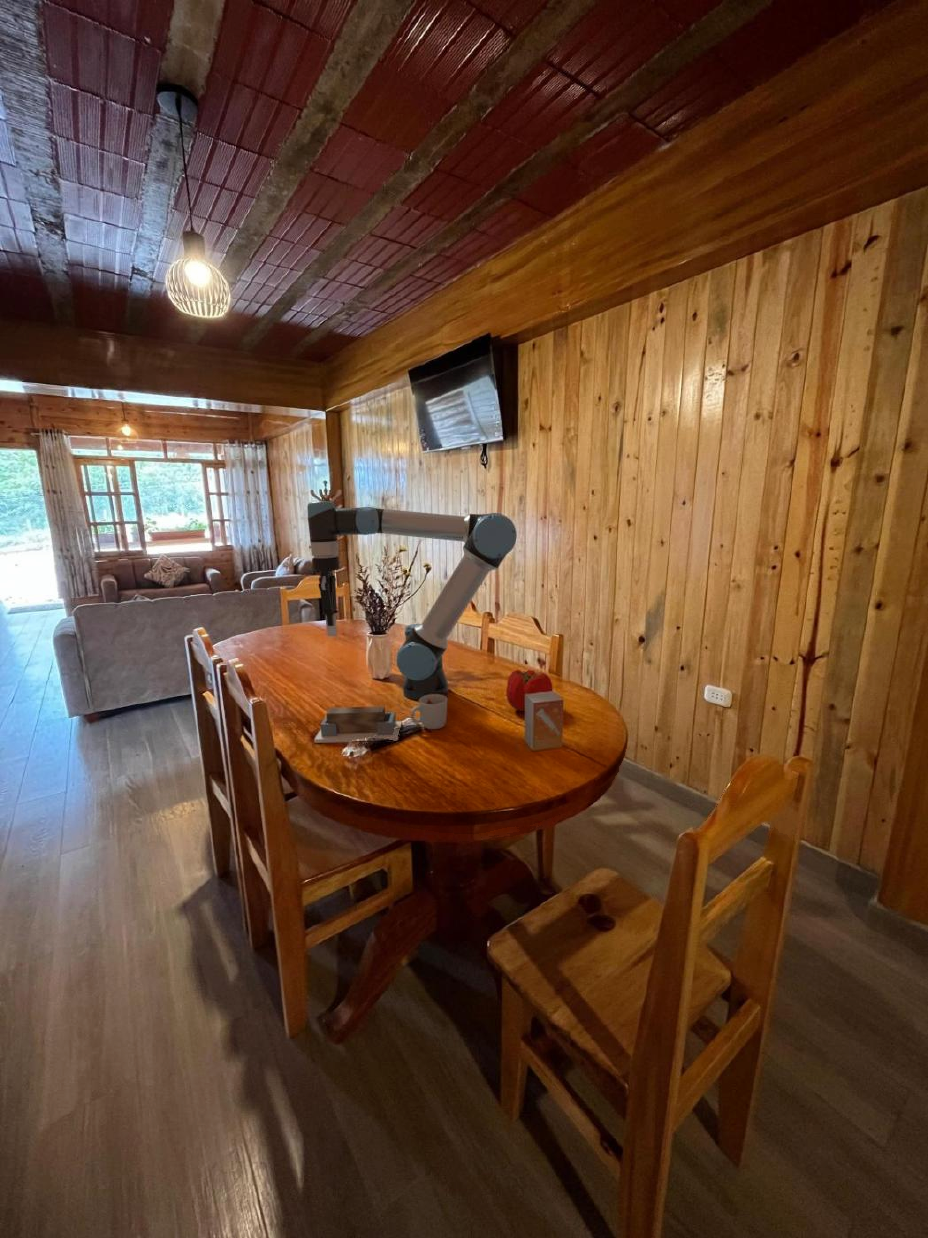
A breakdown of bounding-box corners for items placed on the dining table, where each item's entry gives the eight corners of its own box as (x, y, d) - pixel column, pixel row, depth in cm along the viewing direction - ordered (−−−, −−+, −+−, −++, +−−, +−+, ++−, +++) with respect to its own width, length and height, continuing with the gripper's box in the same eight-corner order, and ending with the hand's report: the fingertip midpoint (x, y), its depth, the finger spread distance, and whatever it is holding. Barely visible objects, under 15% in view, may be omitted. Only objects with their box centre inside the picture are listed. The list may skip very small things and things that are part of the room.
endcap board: (402, 724, 142) (401, 709, 141) (397, 740, 133) (396, 725, 132) (324, 726, 143) (323, 711, 142) (314, 742, 133) (313, 727, 132)
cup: (417, 737, 135) (415, 709, 133) (406, 726, 141) (405, 699, 140) (453, 727, 139) (452, 701, 138) (441, 717, 146) (440, 691, 144)
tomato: (560, 706, 152) (560, 669, 149) (532, 722, 141) (532, 683, 139) (524, 696, 160) (524, 661, 158) (496, 710, 150) (495, 673, 148)
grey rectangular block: (386, 726, 139) (384, 706, 138) (383, 732, 135) (382, 712, 134) (332, 727, 139) (330, 707, 138) (328, 734, 135) (326, 713, 134)
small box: (532, 752, 125) (533, 703, 122) (524, 740, 131) (524, 693, 128) (563, 747, 126) (564, 699, 123) (553, 736, 132) (553, 690, 130)
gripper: (317, 554, 151) (324, 630, 156) (306, 559, 138) (314, 641, 143) (342, 553, 151) (348, 629, 156) (334, 558, 138) (341, 640, 144)
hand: (332, 635), depth 150 cm, fingers closed
